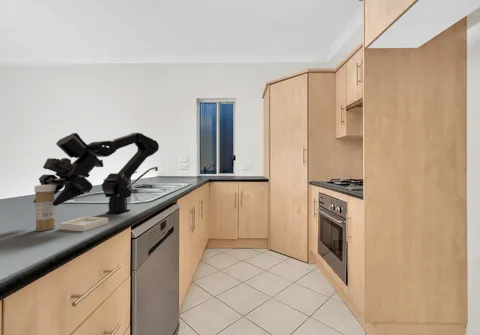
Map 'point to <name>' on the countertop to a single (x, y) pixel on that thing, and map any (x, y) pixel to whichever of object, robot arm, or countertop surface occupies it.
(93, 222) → the tray
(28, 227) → the countertop surface
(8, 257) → the countertop surface
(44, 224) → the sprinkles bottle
